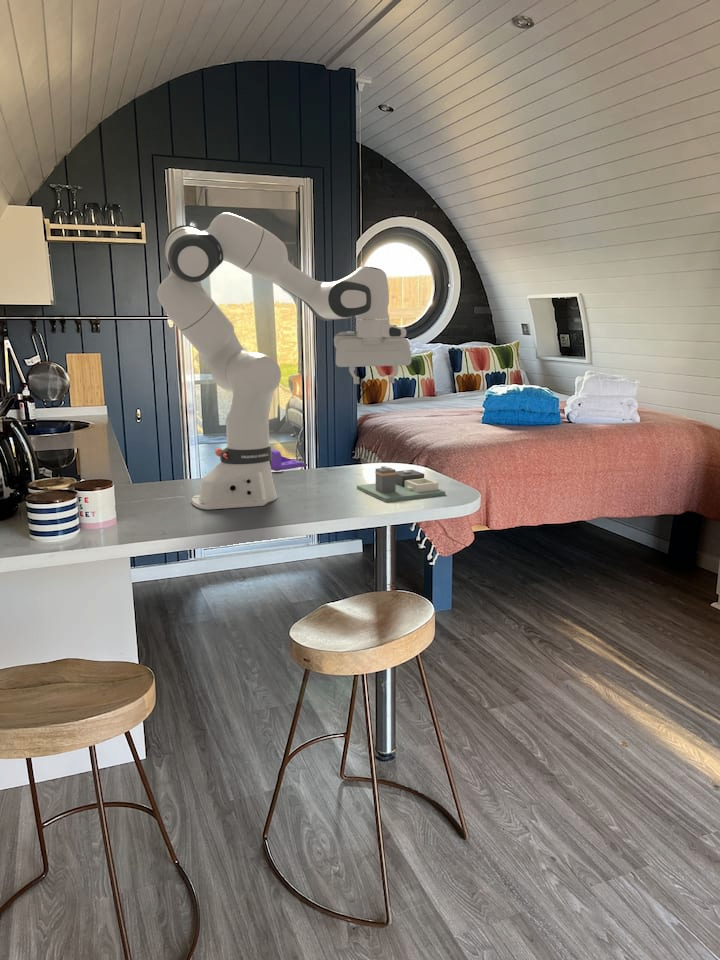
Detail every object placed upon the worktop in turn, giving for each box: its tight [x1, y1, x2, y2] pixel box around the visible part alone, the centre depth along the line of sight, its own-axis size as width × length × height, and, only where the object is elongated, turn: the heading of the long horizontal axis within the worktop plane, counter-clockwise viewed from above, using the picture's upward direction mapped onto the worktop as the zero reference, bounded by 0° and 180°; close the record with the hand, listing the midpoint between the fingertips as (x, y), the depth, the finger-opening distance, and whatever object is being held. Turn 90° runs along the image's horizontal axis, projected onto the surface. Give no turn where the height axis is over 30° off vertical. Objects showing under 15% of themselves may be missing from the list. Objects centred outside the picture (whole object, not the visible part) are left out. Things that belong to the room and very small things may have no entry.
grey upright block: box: [374, 465, 396, 493], centre depth 202 cm, size 4×4×7 cm
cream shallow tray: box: [405, 477, 439, 492], centre depth 204 cm, size 8×7×2 cm
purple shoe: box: [271, 448, 308, 472], centre depth 240 cm, size 12×7×7 cm, turn 129°
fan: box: [395, 469, 425, 487], centre depth 211 cm, size 7×7×3 cm
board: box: [356, 482, 446, 503], centre depth 205 cm, size 18×18×1 cm
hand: (374, 383), depth 200 cm, fingers open, 8 cm apart
